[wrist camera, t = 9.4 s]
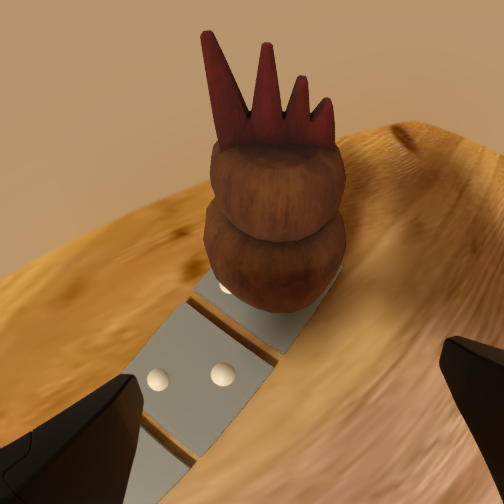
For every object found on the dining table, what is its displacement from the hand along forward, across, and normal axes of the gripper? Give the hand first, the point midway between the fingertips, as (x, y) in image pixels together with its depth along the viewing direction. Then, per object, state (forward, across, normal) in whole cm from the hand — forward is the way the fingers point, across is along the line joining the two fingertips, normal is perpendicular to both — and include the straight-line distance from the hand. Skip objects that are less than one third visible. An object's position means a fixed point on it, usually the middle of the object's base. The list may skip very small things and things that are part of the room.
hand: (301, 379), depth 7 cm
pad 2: (+8, +5, +6) cm, 11 cm away
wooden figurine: (+12, 0, +2) cm, 12 cm away
